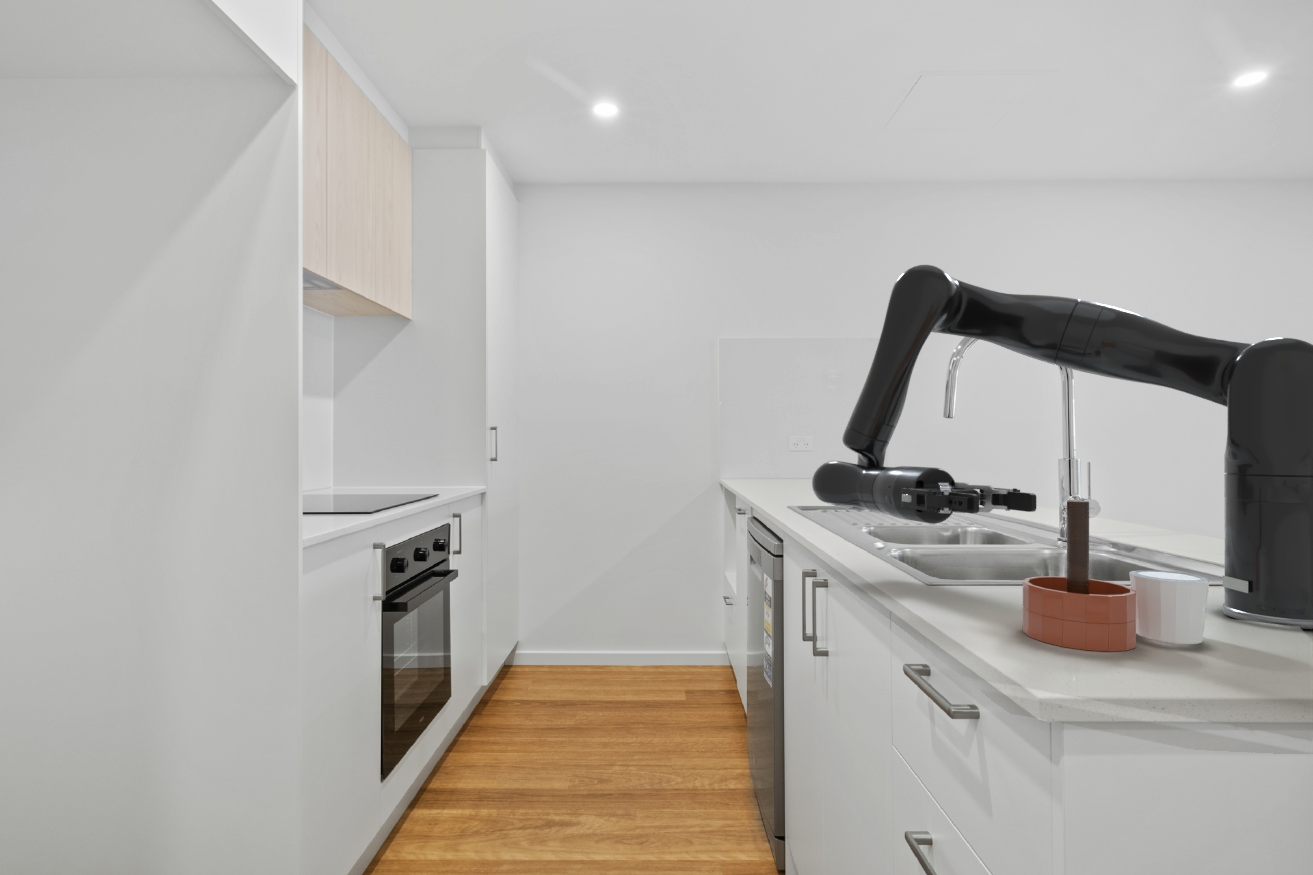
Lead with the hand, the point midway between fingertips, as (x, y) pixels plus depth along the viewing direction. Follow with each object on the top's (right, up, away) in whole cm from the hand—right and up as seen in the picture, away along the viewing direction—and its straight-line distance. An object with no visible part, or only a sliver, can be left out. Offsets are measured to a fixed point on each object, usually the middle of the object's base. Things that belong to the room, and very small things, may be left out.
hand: (1006, 503), depth 81 cm
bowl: (+3, -14, -9) cm, 17 cm away
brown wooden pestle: (+3, -13, -9) cm, 16 cm away
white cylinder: (+13, -14, -8) cm, 21 cm away
